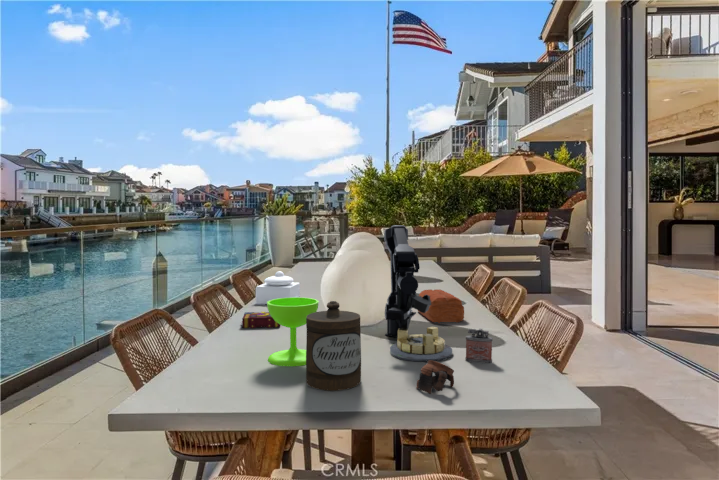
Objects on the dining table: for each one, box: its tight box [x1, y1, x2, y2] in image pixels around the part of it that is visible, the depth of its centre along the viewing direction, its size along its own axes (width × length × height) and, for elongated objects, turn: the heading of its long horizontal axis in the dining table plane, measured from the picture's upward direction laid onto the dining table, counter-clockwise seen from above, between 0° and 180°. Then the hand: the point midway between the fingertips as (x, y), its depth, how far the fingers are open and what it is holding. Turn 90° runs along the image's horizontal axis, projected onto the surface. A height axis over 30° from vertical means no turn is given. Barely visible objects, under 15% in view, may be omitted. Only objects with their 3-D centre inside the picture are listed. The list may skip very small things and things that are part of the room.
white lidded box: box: [255, 270, 301, 305], centre depth 263 cm, size 18×18×16 cm
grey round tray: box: [389, 338, 453, 363], centre depth 168 cm, size 20×20×4 cm
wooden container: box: [305, 300, 362, 392], centre depth 140 cm, size 15×15×22 cm
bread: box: [417, 289, 465, 324], centre depth 226 cm, size 16×27×11 cm, turn 8°
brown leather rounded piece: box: [415, 360, 455, 394], centre depth 134 cm, size 12×10×8 cm
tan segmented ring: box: [396, 326, 446, 354], centre depth 169 cm, size 17×15×6 cm
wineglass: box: [266, 296, 320, 368], centre depth 161 cm, size 16×16×18 cm
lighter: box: [464, 328, 493, 364], centre depth 159 cm, size 8×3×10 cm, turn 71°
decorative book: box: [241, 311, 281, 329], centre depth 209 cm, size 11×16×5 cm
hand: (405, 334), depth 172 cm, fingers closed
